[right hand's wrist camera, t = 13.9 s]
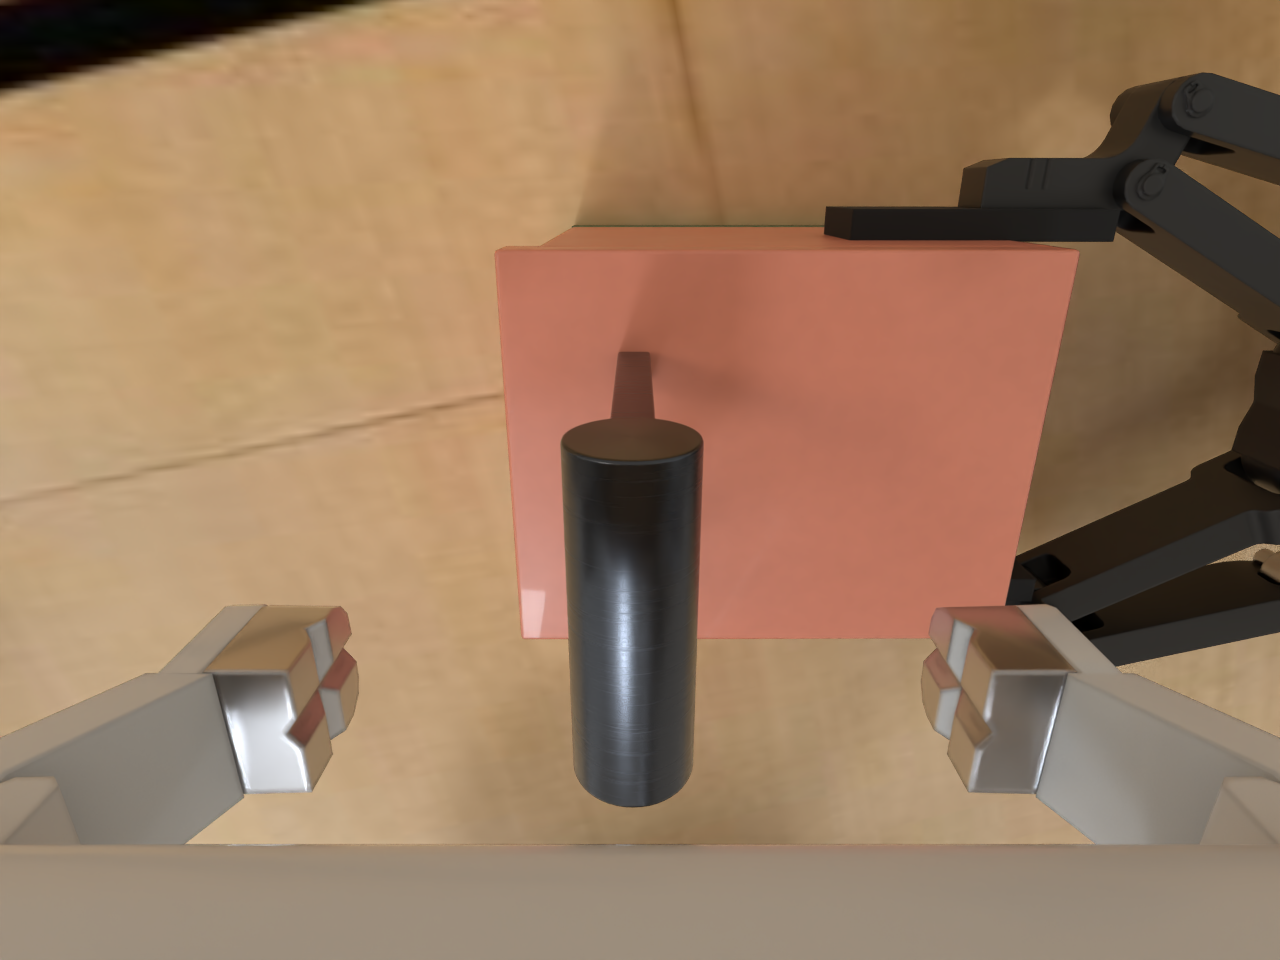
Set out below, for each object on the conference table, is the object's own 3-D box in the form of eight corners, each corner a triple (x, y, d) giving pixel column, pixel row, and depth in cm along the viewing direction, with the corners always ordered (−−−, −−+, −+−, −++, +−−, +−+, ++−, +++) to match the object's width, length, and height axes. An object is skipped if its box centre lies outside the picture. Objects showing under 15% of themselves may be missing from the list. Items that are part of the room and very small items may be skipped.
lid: (527, 617, 20) (453, 902, 12) (502, 245, 16) (373, 299, 8) (980, 616, 20) (1209, 900, 12) (1055, 246, 16) (1451, 298, 8)
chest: (581, 481, 29) (556, 617, 20) (573, 225, 25) (538, 245, 16) (870, 481, 29) (980, 616, 20) (903, 225, 25) (1054, 245, 16)
